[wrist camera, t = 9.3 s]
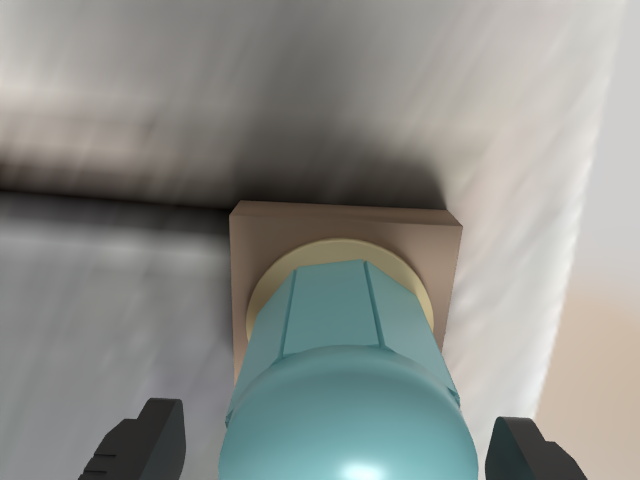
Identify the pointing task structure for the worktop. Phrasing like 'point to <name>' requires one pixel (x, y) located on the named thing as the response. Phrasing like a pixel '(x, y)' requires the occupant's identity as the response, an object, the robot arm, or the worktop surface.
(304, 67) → the worktop surface
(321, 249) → the board
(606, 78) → the worktop surface
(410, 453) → the cap
